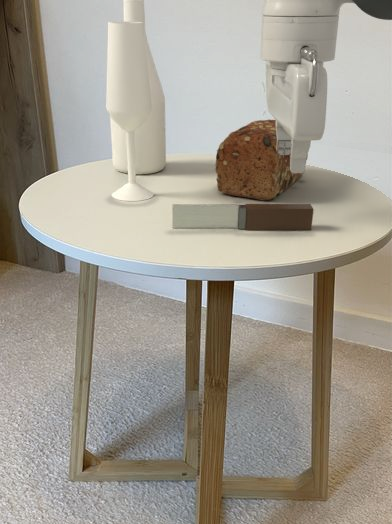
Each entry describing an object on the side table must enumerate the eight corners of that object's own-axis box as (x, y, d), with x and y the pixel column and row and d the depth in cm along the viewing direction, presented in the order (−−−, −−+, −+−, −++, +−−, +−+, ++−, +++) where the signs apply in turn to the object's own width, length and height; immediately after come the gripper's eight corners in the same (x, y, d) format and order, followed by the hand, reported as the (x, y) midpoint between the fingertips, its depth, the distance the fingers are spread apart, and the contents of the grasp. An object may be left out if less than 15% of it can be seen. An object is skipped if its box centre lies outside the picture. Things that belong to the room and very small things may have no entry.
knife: (308, 224, 84) (310, 202, 82) (311, 230, 82) (313, 207, 80) (172, 224, 83) (172, 202, 82) (172, 230, 81) (172, 207, 80)
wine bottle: (165, 161, 113) (162, -26, 97) (166, 175, 105) (163, -27, 89) (114, 162, 112) (103, -27, 97) (111, 175, 104) (99, -29, 88)
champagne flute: (121, 186, 98) (112, 20, 86) (159, 190, 97) (156, 21, 84) (104, 198, 93) (92, 22, 80) (145, 202, 91) (139, 24, 79)
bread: (274, 204, 92) (279, 136, 87) (210, 194, 96) (212, 129, 90) (308, 175, 106) (315, 115, 101) (252, 167, 110) (256, 110, 105)
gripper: (347, 50, 62) (332, 184, 69) (307, 37, 80) (298, 145, 87) (286, 51, 62) (278, 184, 69) (260, 38, 79) (255, 145, 87)
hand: (289, 162), depth 78 cm, fingers open, 8 cm apart
